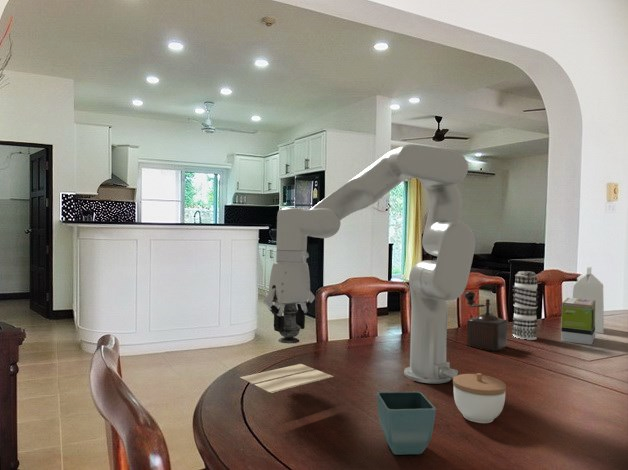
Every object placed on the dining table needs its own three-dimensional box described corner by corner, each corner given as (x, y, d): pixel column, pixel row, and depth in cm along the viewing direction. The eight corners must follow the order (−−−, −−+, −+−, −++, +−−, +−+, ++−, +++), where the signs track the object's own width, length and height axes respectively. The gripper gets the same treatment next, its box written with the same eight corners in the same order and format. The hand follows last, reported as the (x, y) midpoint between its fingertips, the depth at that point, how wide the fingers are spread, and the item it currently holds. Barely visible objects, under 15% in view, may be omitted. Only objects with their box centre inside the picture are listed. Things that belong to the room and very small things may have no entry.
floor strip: (315, 373, 125) (315, 369, 125) (253, 389, 112) (253, 383, 112) (300, 367, 130) (300, 363, 130) (239, 382, 117) (239, 377, 117)
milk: (603, 333, 185) (605, 269, 184) (570, 329, 191) (572, 267, 191) (603, 328, 195) (605, 267, 194) (572, 324, 201) (574, 265, 201)
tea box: (566, 334, 183) (567, 296, 182) (595, 338, 177) (596, 299, 176) (560, 341, 170) (561, 301, 170) (591, 345, 164) (593, 304, 164)
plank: (333, 380, 120) (333, 376, 120) (270, 397, 107) (270, 392, 107) (316, 373, 125) (316, 369, 125) (254, 388, 112) (254, 384, 112)
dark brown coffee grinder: (508, 346, 161) (509, 295, 160) (496, 352, 152) (497, 298, 152) (465, 338, 171) (467, 290, 171) (452, 343, 163) (453, 292, 163)
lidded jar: (476, 431, 91) (478, 384, 91) (441, 411, 101) (442, 369, 101) (516, 423, 96) (518, 378, 96) (479, 404, 105) (480, 364, 105)
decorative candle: (508, 333, 180) (510, 270, 180) (533, 335, 179) (535, 271, 179) (515, 339, 171) (517, 272, 171) (541, 340, 170) (543, 273, 169)
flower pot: (374, 437, 88) (375, 391, 87) (419, 437, 88) (420, 390, 88) (385, 461, 79) (387, 409, 79) (435, 460, 80) (437, 409, 79)
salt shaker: (297, 344, 111) (298, 295, 111) (274, 342, 112) (275, 293, 112) (303, 339, 117) (304, 292, 117) (280, 337, 118) (281, 290, 118)
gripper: (308, 256, 123) (306, 323, 123) (253, 257, 112) (251, 331, 112) (327, 257, 117) (325, 328, 117) (271, 259, 106) (269, 337, 106)
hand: (289, 329), depth 115 cm, fingers closed on salt shaker, 5 cm apart
